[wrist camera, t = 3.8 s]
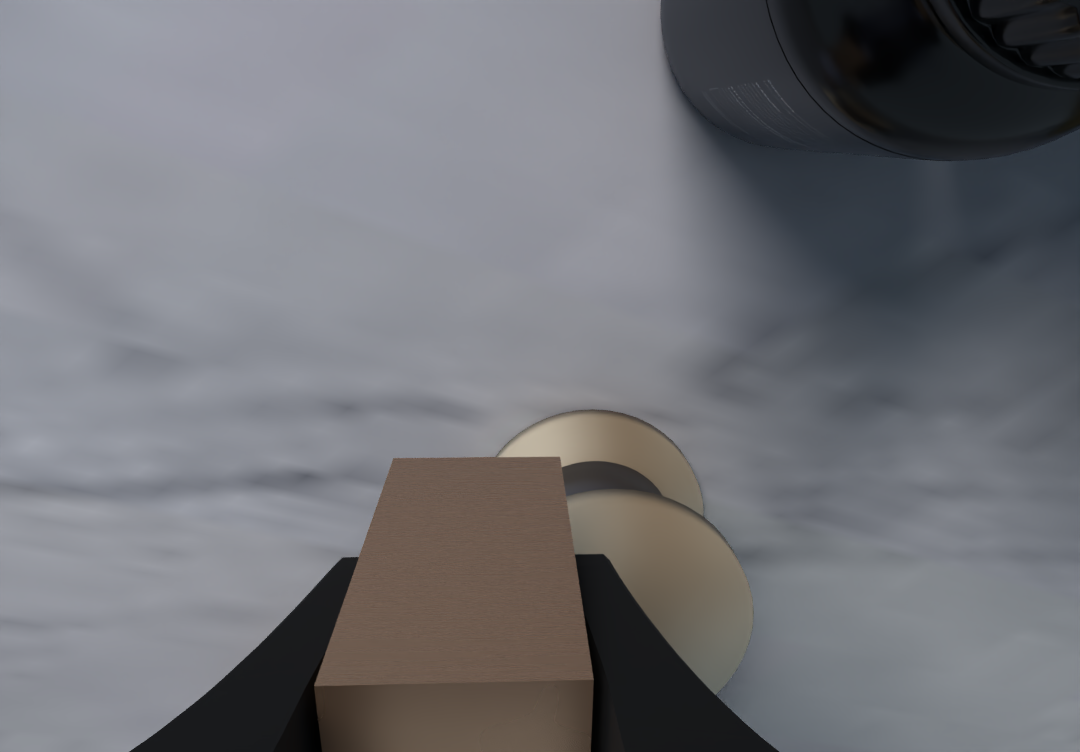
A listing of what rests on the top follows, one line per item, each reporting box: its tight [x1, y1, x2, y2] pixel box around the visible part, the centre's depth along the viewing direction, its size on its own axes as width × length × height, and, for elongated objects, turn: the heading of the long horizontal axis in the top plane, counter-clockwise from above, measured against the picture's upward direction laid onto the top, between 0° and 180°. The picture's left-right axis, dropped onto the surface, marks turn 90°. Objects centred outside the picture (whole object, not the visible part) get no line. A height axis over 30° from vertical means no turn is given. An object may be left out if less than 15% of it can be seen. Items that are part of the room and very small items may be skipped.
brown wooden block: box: [314, 457, 594, 752], centre depth 11 cm, size 3×3×6 cm
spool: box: [496, 410, 754, 695], centre depth 20 cm, size 7×7×6 cm
